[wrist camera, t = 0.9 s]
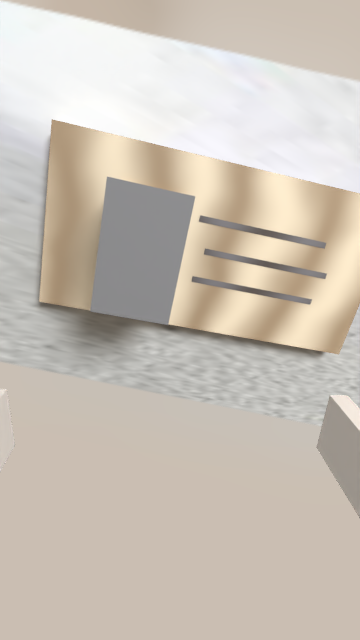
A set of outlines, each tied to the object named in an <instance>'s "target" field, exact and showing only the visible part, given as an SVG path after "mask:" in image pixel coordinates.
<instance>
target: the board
mask: <svg viewBox="0 0 360 640" xmlns="http://www.w3.org/2000/svg"><path fill="white" fill-rule="evenodd" d="M107 177H112V178H116V179H121V180H125V181H129V182H134V183H138V184H143V185H147V186H152V187H156V188H161V189H165V190H169V191H174V192H178V193H183V194H187V195H192V196H195V201H194V206H193V210H192V215H191V220H190V224H189V229H188V234H187V239H186V243H185V248H184V253H183V257H182V262H181V267H180V271H179V276H178V281H177V286H176V290H175V295H174V300H173V304H172V309H171V314H170V318H169V323H168V324H170V325H175V326H181V327H187V328H192V329H198V330H204V331H209V332H215V333H221V334H226V335H232V336H238V337H243V338H249V339H255V340H261V341H266V342H272V343H278V344H283V345H289V346H295V347H300V348H306V349H312V350H317V351H323V352H329V353H334V354H339V352H340V350H341V348H342V345H343V343H344V340H345V338H346V336H347V333H348V331H349V328H350V326H351V323H352V321H353V319H354V316H355V314H356V311H357V309H358V307H359V304H360V194H359V193H355V192H351V191H347V190H343V189H339V188H335V187H330V186H326V185H322V184H318V183H314V182H310V181H305V180H301V179H297V178H293V177H289V176H285V175H281V174H276V173H272V172H268V171H264V170H260V169H256V168H251V167H247V166H243V165H239V164H235V163H231V162H227V161H222V160H218V159H214V158H210V157H206V156H202V155H197V154H193V153H189V152H185V151H181V150H177V149H173V148H168V147H164V146H160V145H156V144H152V143H148V142H143V141H139V140H135V139H131V138H127V137H123V136H118V135H114V134H110V133H106V132H102V131H98V130H94V129H89V128H85V127H81V126H77V125H73V124H69V123H64V122H60V121H56V120H52V125H51V139H50V153H49V168H48V182H47V197H46V211H45V226H44V240H43V255H42V269H41V284H40V298H39V302H45V303H50V304H56V305H62V306H67V307H73V308H79V309H84V310H90V308H91V300H92V292H93V284H94V276H95V268H96V260H97V252H98V244H99V236H100V228H101V220H102V212H103V204H104V196H105V188H106V180H107Z"/></svg>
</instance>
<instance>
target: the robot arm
mask: <svg viewBox="0 0 360 640" xmlns="http://www.w3.org/2000/svg"><path fill="white" fill-rule="evenodd" d="M14 446H15V442H14V435H13V429H12V421H11V414H10V408H9V401H8V394H7V389H0V471H1V469H2V468H3V466H4V464H5V462H6V461H7V459H8V457H9V455H10V453H11V451H12V450H13V448H14ZM317 449H318V451H319V452H320V454H321V455H322V457H323V459H324V460H325V462H326V464H327V465H328V467H329V469H330V470H331V472H332V473H333V475H334V477H335V478H336V480H337V482H338V483H339V485H340V487H341V488H342V490H343V491H344V493H345V495H346V496H347V498H348V500H349V501H350V503H351V504H352V506H353V508H354V510H355V511H356V513H357V514H358V516H359V518H360V409H359V408H358V406H357V405H356V404H355V403H354V402H353V401H352V400H351V399H350V398H349V397H348V396H347V395H330V397H329V401H328V405H327V408H326V412H325V416H324V420H323V424H322V428H321V432H320V436H319V440H318V444H317Z"/></svg>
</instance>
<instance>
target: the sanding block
mask: <svg viewBox="0 0 360 640" xmlns="http://www.w3.org/2000/svg"><path fill="white" fill-rule="evenodd" d="M194 201H195V196H192V195H187V194H183V193H178V192H174V191H169V190H165V189H161V188H156V187H152V186H147V185H143V184H138V183H134V182H129V181H125V180H121V179H116V178H112V177H107V180H106V188H105V196H104V204H103V212H102V220H101V228H100V236H99V244H98V252H97V260H96V268H95V276H94V284H93V292H92V300H91V308H90V311H91V312H97V313H102V314H108V315H114V316H119V317H125V318H131V319H136V320H142V321H148V322H153V323H159V324H165V325H168V323H169V318H170V314H171V309H172V304H173V300H174V295H175V290H176V286H177V281H178V276H179V271H180V267H181V262H182V257H183V253H184V248H185V243H186V239H187V234H188V229H189V224H190V220H191V215H192V210H193V206H194Z"/></svg>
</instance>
